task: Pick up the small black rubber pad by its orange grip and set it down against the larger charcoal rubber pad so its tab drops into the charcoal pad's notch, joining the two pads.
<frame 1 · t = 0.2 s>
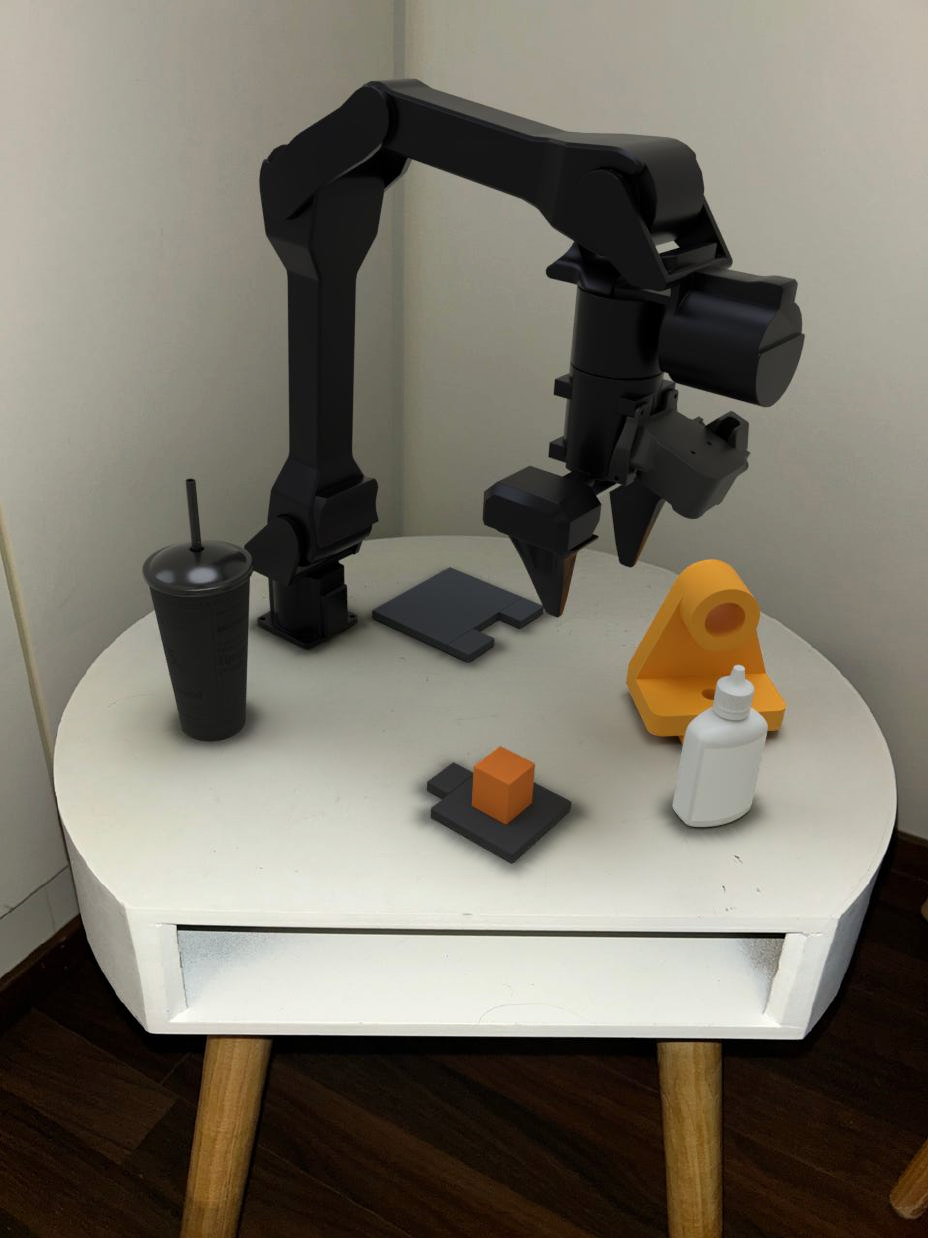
hand: (591, 589, 75), 14 cm above the table, tool pointing down, fingers open, 9 cm apart
bracket: (701, 716, 88), on the table
black pad: (501, 813, 77), on the table
eye dropper bottle: (710, 812, 78), on the table
charcoal pad: (458, 615, 99), on the table
drinking cup: (213, 723, 84), on the table
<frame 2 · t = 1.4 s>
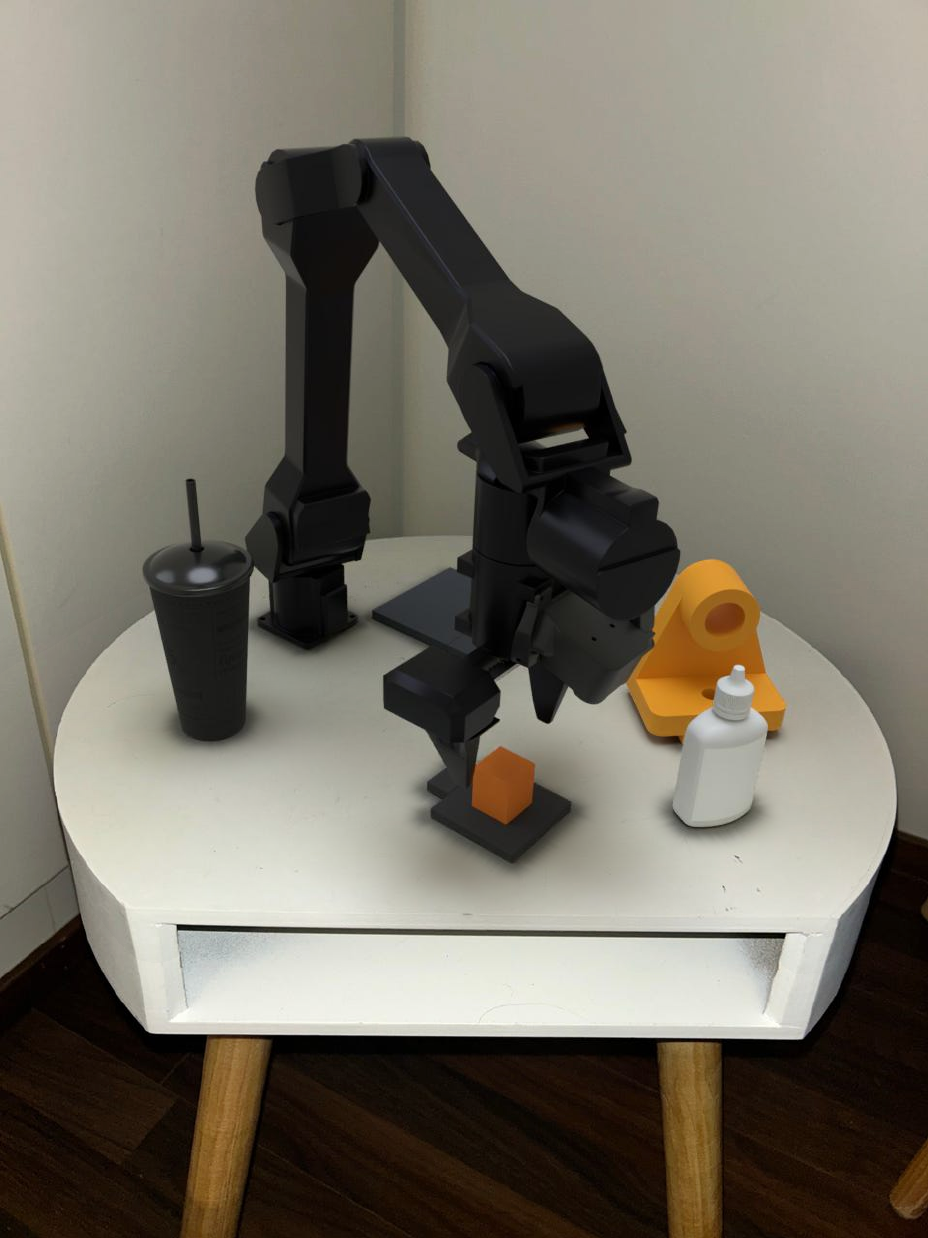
hand: (505, 751, 74), 5 cm above the table, tool pointing down, fingers open, 9 cm apart
nothing on the table moved.
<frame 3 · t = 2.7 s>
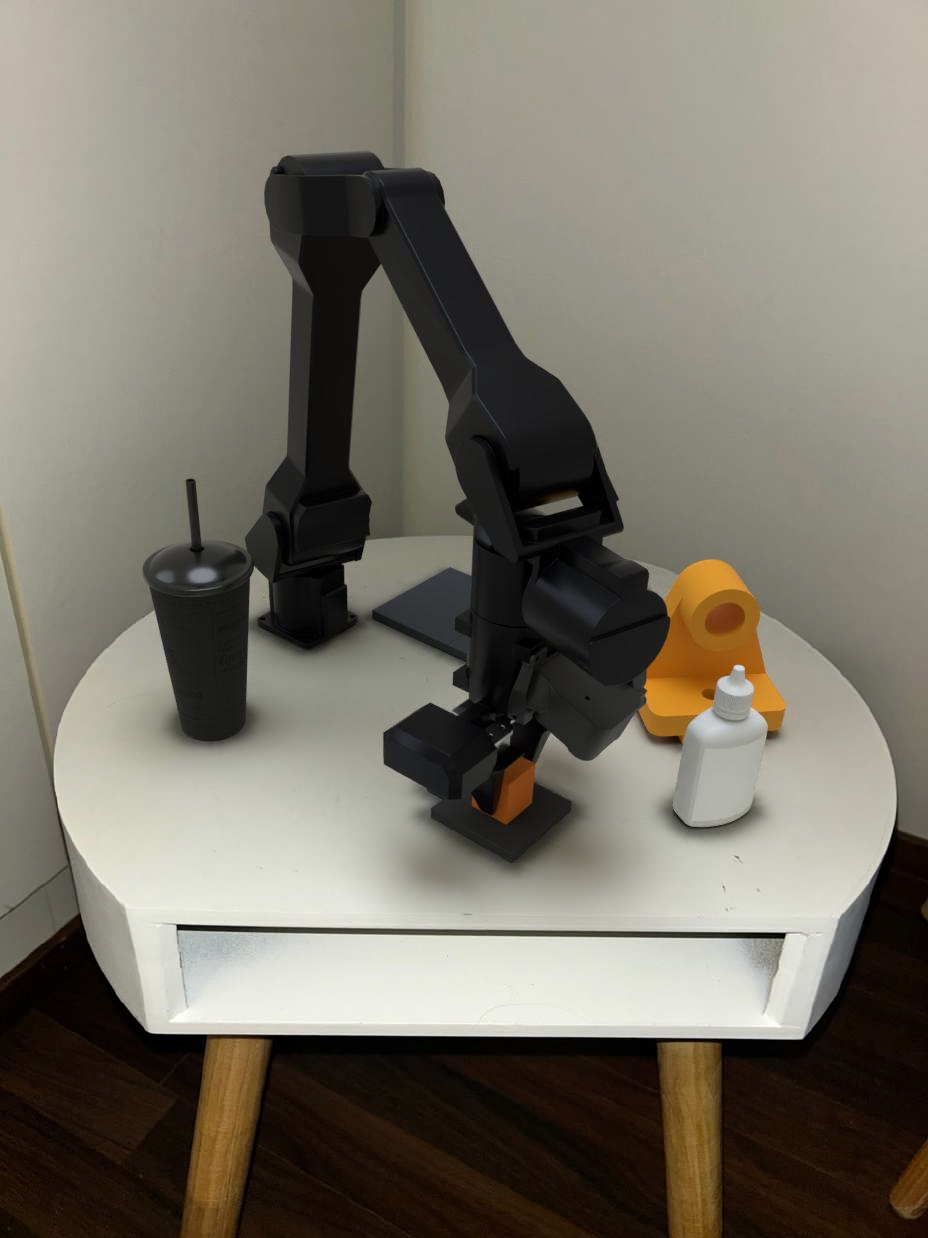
hand: (501, 800, 76), 1 cm above the table, tool pointing down, fingers closed on black pad, 3 cm apart
black pad: (501, 813, 77), on the table, touching gripper
everything else where it was.
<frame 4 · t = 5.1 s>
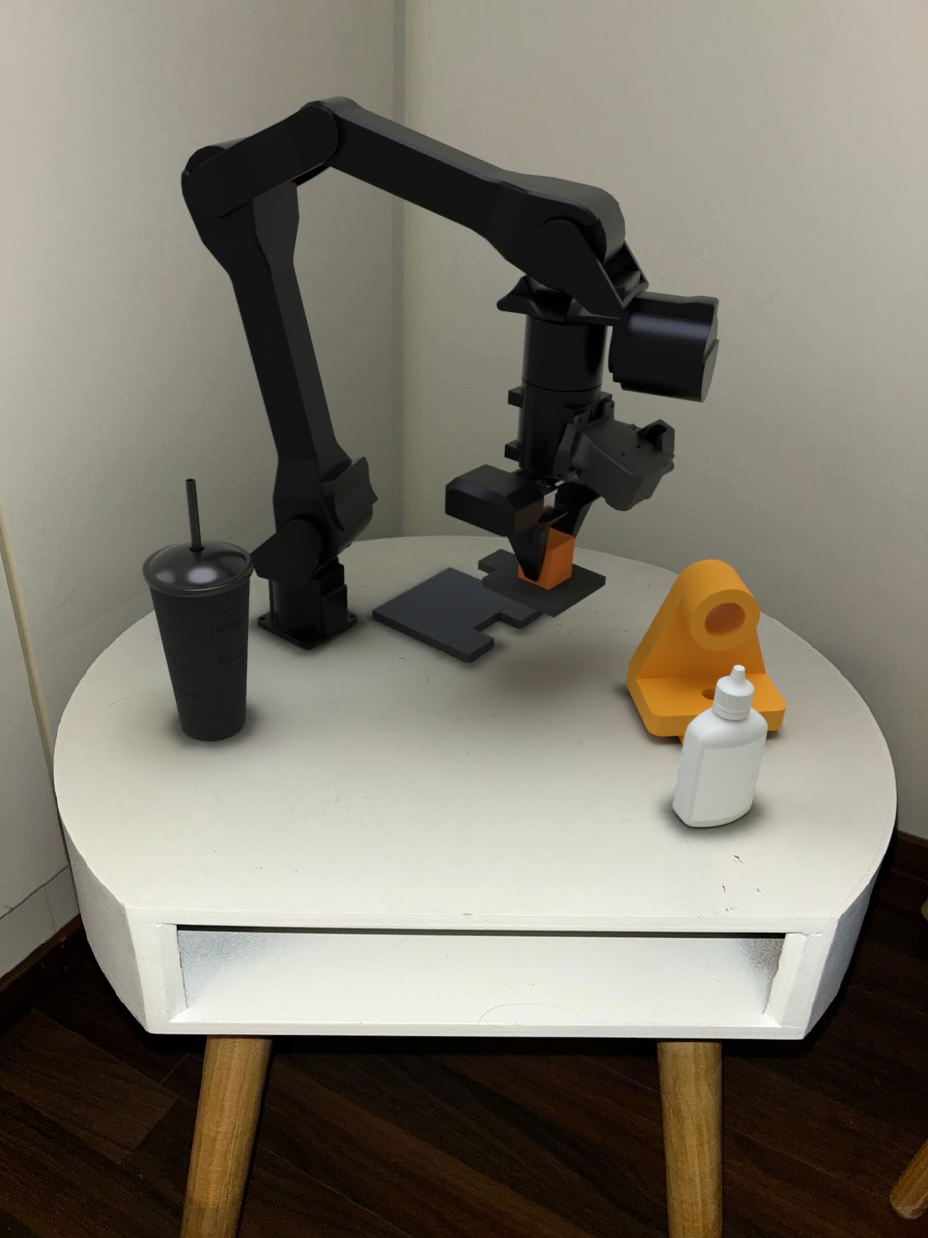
hand: (544, 572, 86), 10 cm above the table, tool pointing down, fingers closed on black pad, 3 cm apart
black pad: (543, 585, 87), point 9 cm above the table, touching gripper
everything else where it was.
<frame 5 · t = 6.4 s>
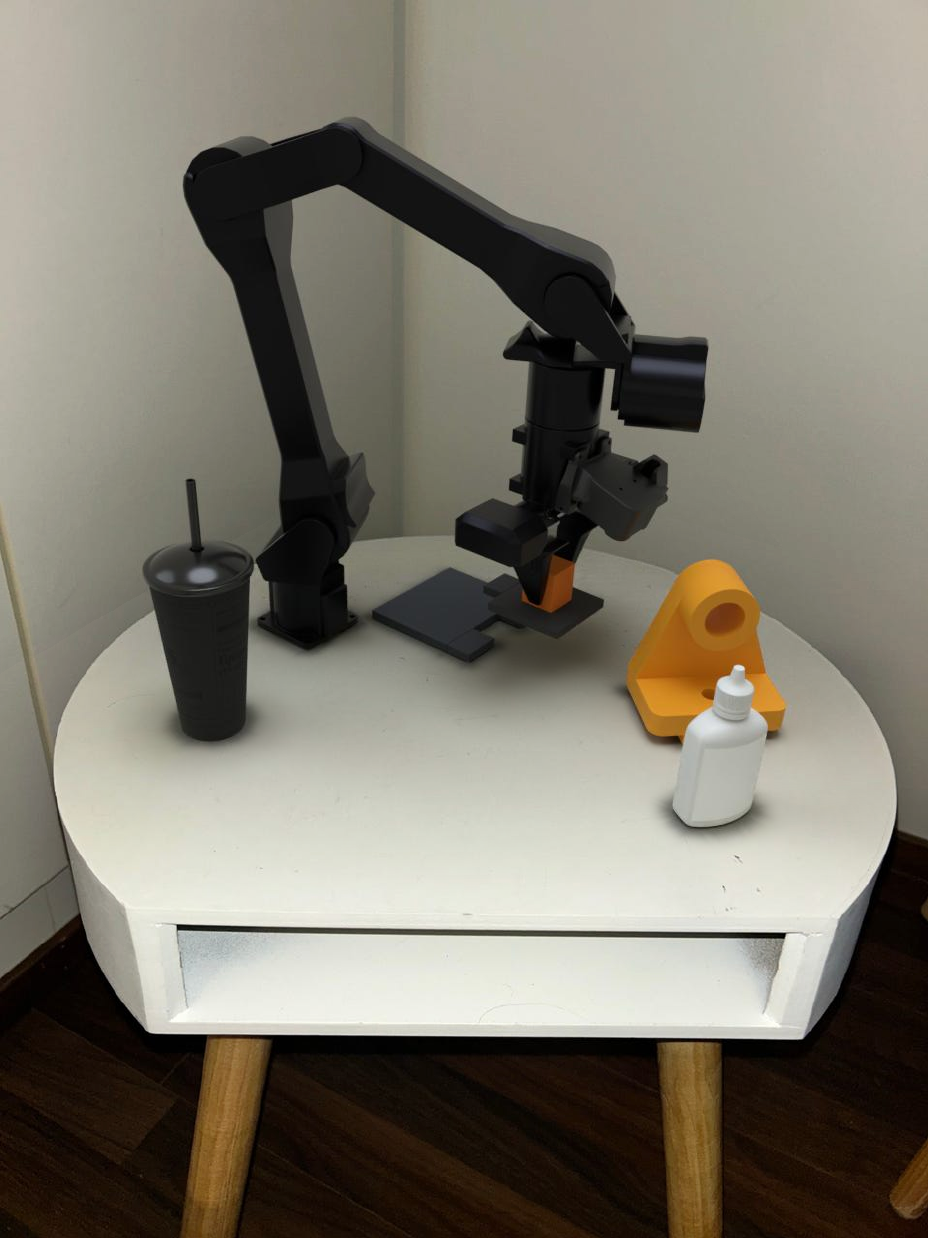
hand: (546, 596, 92), 6 cm above the table, tool pointing down, fingers closed on black pad, 3 cm apart
black pad: (545, 608, 92), point 4 cm above the table, touching gripper
everything else where it was.
when the fingers open (1 cm above the table, at t = 7.7 s): black pad stays where it is, on the table.
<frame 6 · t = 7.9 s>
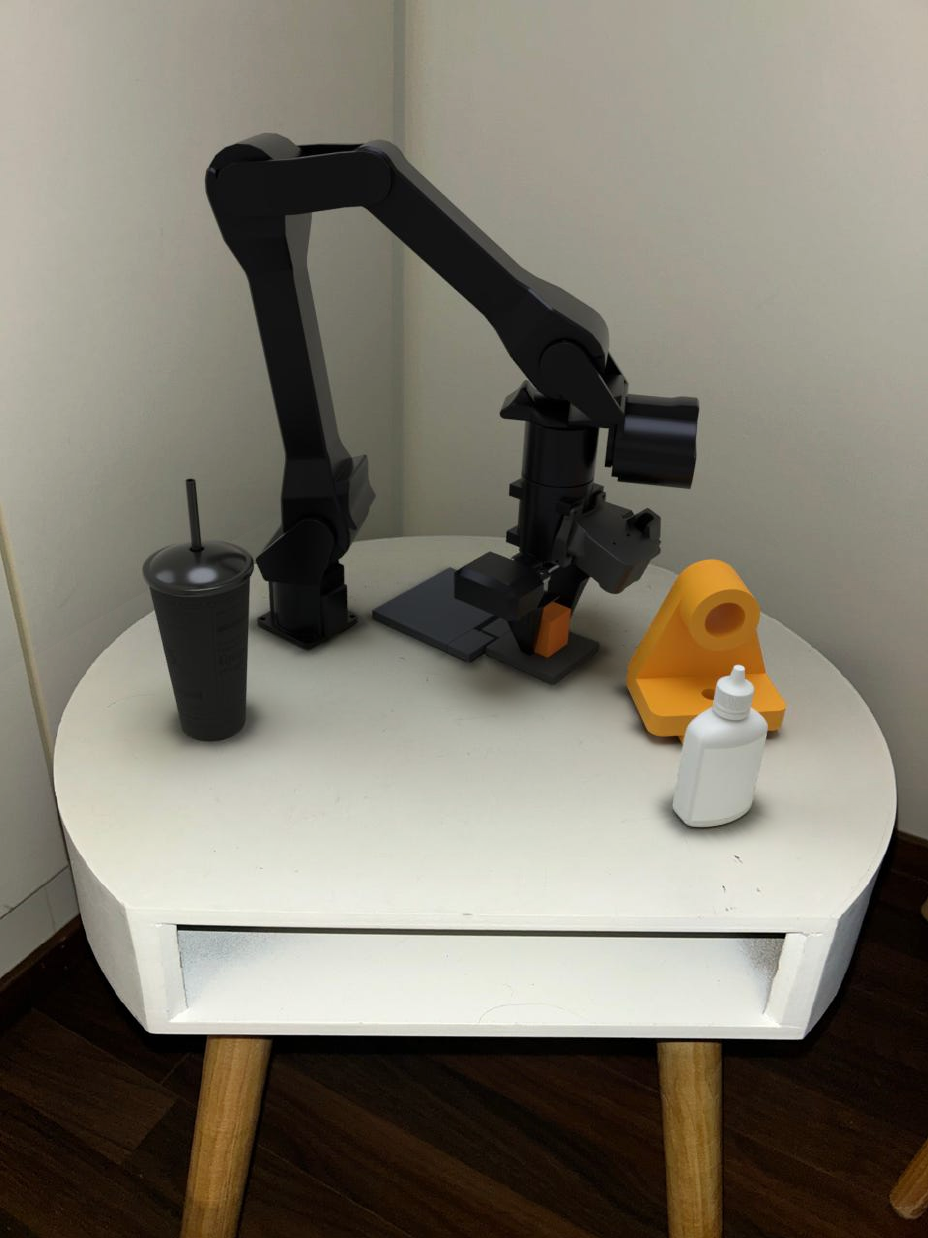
hand: (542, 642, 94), 1 cm above the table, tool pointing down, fingers open, 4 cm apart
black pad: (542, 652, 95), on the table
everything else where it was.
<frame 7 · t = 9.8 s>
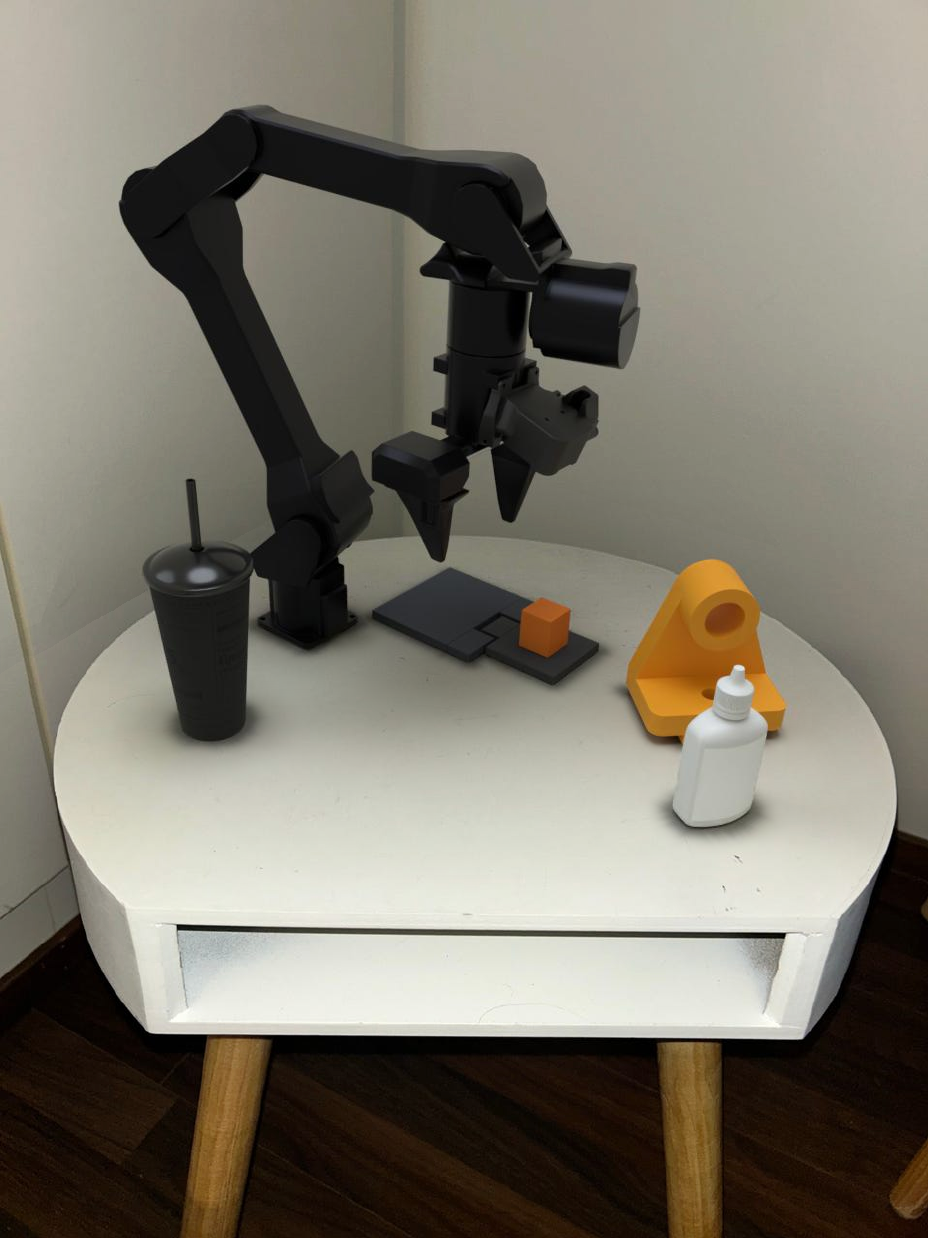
hand: (474, 540, 87), 12 cm above the table, tool pointing down, fingers open, 9 cm apart
nothing on the table moved.
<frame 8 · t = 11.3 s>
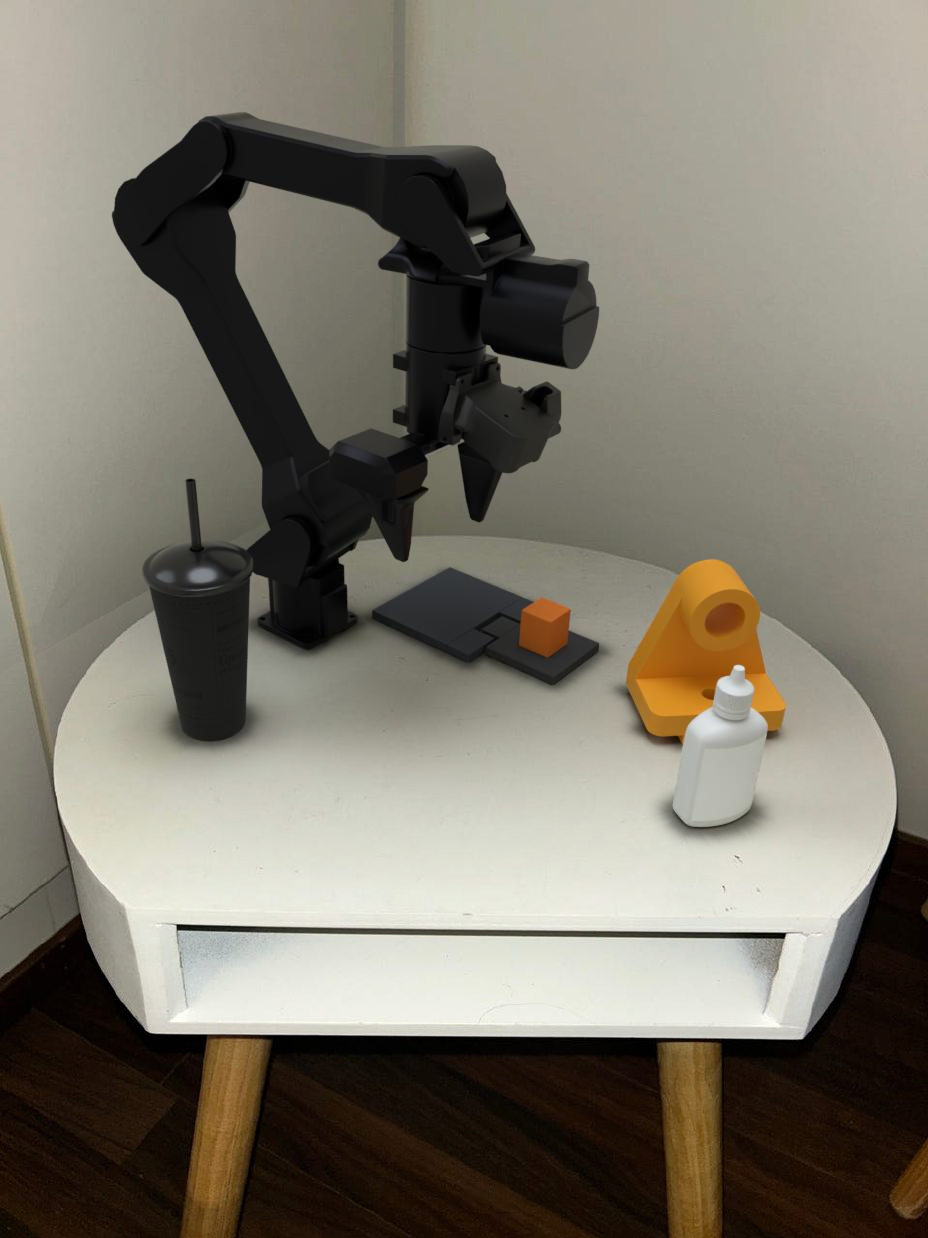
hand: (440, 539, 86), 12 cm above the table, tool pointing down, fingers open, 9 cm apart
nothing on the table moved.
at the end: black pad 0.0 cm from the target spot on the table beside the charcoal pad, on the table; black pad tilted 0° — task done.
